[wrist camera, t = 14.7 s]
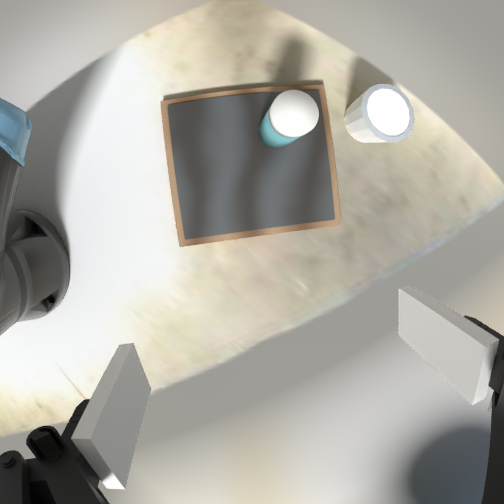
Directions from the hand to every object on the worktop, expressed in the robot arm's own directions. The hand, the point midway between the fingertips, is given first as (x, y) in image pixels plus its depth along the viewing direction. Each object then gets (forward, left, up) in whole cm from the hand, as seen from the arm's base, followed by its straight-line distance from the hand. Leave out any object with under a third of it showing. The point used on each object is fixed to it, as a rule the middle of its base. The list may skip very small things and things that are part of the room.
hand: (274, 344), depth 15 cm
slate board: (+2, +10, -25) cm, 27 cm away
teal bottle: (+5, +13, -24) cm, 28 cm away
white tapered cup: (+17, +14, -26) cm, 34 cm away
